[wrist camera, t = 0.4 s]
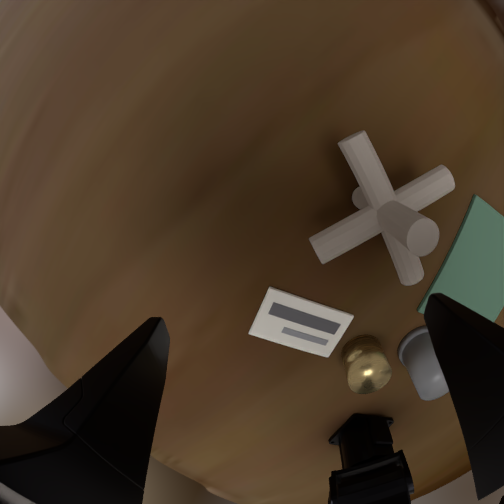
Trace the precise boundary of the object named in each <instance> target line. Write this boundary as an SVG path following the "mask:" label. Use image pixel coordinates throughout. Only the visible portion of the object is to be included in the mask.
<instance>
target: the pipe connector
mask: <svg viewBox="0 0 504 504" xmlns="http://www.w3.org/2000/svg"><path fill="white" fill-rule="evenodd" d="M338 145H339V147H340V149H341V151H342V153H343V155H344V156H345V158H346V160H347V162H348V164H349V166H350V168H351V170H352V172H353V174H354V176H355V178H356V180H357V182H358V184H359V186H360V187H357V188H356V189H355V190H354V192H353V194H352V201H353V204H354V205H355V206H356V207H357V208H358V209H360V210H359V211H357V212H355V213H354V214H352V215H350V216H348V217H346V218H345V219H343V220H341V221H339V222H337V223H335V224H334V225H332V226H330V227H328V228H326V229H324V230H323V231H321V232H319V233H317V234H315V235H313V236H312V237H310V238H309V240H310V242H311V244H312V246H313V248H314V250H315V252H316V254H317V256H318V258H319V260H320V261H321V263H322V264H324V263H326V262H328V261H330V260H332V259H334V258H336V257H338V256H339V255H341V254H343V253H345V252H347V251H349V250H350V249H352V248H354V247H356V246H358V245H360V244H361V243H363V242H365V241H367V240H369V239H370V238H372V237H374V236H376V235H377V234H379V233H382V236H383V238H384V241H385V243H386V245H387V248H388V250H389V253H390V255H391V258H392V260H393V263H394V266H395V268H396V271H397V274H398V276H399V279H400V282H401V284H403V285H405V286H409V285H414V284H416V283H418V282H419V281H420V280H422V279H423V276H424V271H423V268H422V265H421V262H420V259H419V256H425V255H428V254H429V253H431V252H432V251H433V250H434V248H435V247H436V245H437V243H438V240H439V229H438V227H437V225H436V223H435V222H434V221H432V220H431V219H429V218H427V217H425V216H424V215H422V214H420V213H418V211H419V210H421V209H423V208H424V207H426V206H428V205H429V204H431V203H433V202H434V201H436V200H438V199H439V198H441V197H443V196H444V195H446V194H448V193H449V192H451V191H452V190H454V188H455V183H454V179H453V177H452V175H451V172H450V171H449V170H448V169H447V168H446V167H445V166H443V165H439V166H437V167H436V168H434V169H432V170H430V171H429V172H427V173H425V174H423V175H422V176H420V177H418V178H416V179H415V180H413V181H411V182H409V183H407V184H406V185H404V186H402V187H400V188H399V189H397V190H395V191H394V190H393V188H392V186H391V183H390V181H389V179H388V177H387V175H386V172H385V170H384V168H383V166H382V164H381V162H380V160H379V158H378V156H377V154H376V152H375V150H374V148H373V146H372V144H371V142H370V140H369V138H368V136H367V134H366V132H365V131H364V130H363V131H360V132H357V133H355V134H353V135H351V136H349V137H347V138H345V139H343V140H341V141H340V142H338Z"/></svg>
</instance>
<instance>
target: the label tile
mask: <svg viewBox="0 0 504 504" xmlns="http://www.w3.org/2000/svg"><path fill="white" fill-rule="evenodd" d="M353 317H354V315H353V314H350V313H347V312H344V311H341V310H338V309H335V308H332V307H329V306H326V305H323V304H320V303H317V302H314V301H311V300H308V299H305V298H302V297H299V296H296V295H293V294H290V293H288V292H285V291H282V290H279V289H276V288H273V287H270V286H269V288H268V291H267V293H266V295H265V297H264V300H263V302H262V304H261V306H260V309H259V311H258V313H257V315H256V317H255V320H254V322H253V324H252V326H251V328H250V331H249V334H250V335H253V336H257V337H260V338H263V339H266V340H269V341H272V342H276V343H279V344H282V345H285V346H289V347H292V348H296V349H299V350H302V351H306V352H309V353H313V354H317V355H320V356H324V357H329V355H330V354H331V352H332V351H333V349H334V348H335V346H336V345H337V343H338V342H339V340H340V339H341V337H342V335H343V334H344V332H345V331H346V329H347V327H348V326H349V324H350V322H351V321H352V319H353Z"/></svg>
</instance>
